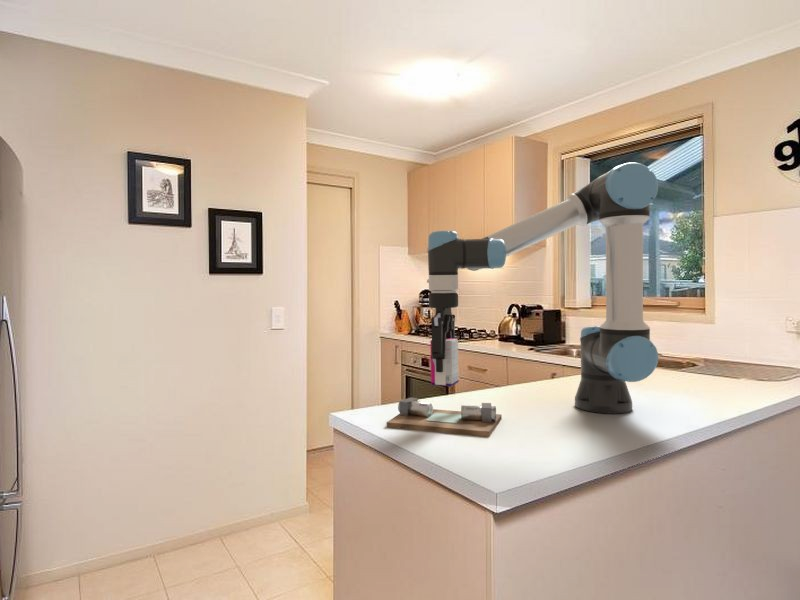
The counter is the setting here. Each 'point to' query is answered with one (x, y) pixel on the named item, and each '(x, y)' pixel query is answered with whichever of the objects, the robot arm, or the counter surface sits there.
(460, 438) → the counter surface
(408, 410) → the shaft
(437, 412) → the board
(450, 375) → the supplement box
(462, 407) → the grey collared shaft
